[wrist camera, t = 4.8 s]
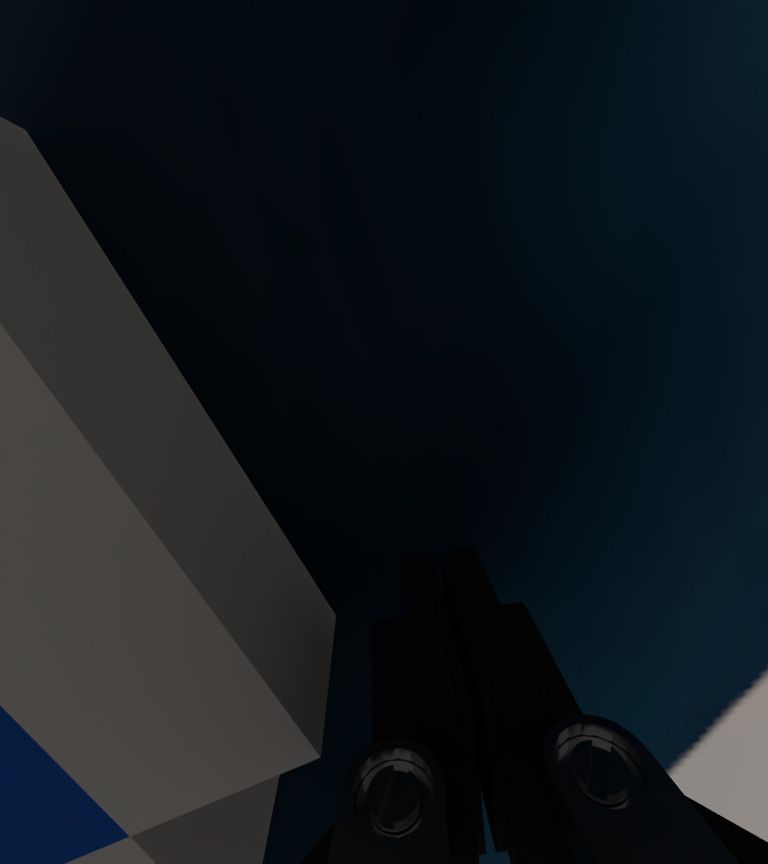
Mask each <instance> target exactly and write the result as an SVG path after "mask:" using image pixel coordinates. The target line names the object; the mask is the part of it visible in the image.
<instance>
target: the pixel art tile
mask: <svg viewBox="0 0 768 864" xmlns="http://www.w3.org/2000/svg"><path fill="white" fill-rule="evenodd" d="M335 621H336V615H335V613H334V612H333V610H332V608H331V607H330V605H329V604H328V602H327V601H326V599H325V597H324V596H323V594H322V593H321V591H320V590H319V588H318V587H317V585H316V583H315V582H314V580H313V579H312V577H311V576H310V574H309V572H308V571H307V569H306V568H305V566H304V565H303V563H302V561H301V560H300V558H299V557H298V555H297V554H296V552H295V551H294V549H293V547H292V546H291V544H290V543H289V541H288V540H287V538H286V536H285V535H284V533H283V532H282V530H281V529H280V527H279V526H278V524H277V522H276V521H275V519H274V518H273V516H272V515H271V513H270V511H269V510H268V508H267V507H266V505H265V504H264V502H263V501H262V499H261V497H260V496H259V494H258V493H257V491H256V490H255V488H254V486H253V485H252V483H251V482H250V480H249V479H248V477H247V475H246V474H245V472H244V471H243V469H242V468H241V466H240V465H239V463H238V461H237V460H236V458H235V457H234V455H233V454H232V452H231V450H230V449H229V447H228V446H227V444H226V443H225V441H224V440H223V438H222V436H221V435H220V433H219V432H218V430H217V429H216V427H215V425H214V424H213V422H212V421H211V419H210V418H209V416H208V415H207V413H206V411H205V410H204V408H203V407H202V405H201V404H200V402H199V400H198V399H197V397H196V396H195V394H194V393H193V391H192V389H191V388H190V386H189V385H188V383H187V382H186V380H185V379H184V377H183V375H182V374H181V372H180V371H179V369H178V368H177V366H176V364H175V363H174V361H173V360H172V358H171V357H170V355H169V354H168V352H167V350H166V349H165V347H164V346H163V344H162V343H161V341H160V339H159V338H158V336H157V335H156V333H155V332H154V330H153V329H152V327H151V325H150V324H149V322H148V321H147V319H146V318H145V316H144V314H143V313H142V311H141V310H140V308H139V307H138V305H137V303H136V302H135V300H134V299H133V297H132V296H131V294H130V293H129V291H128V289H127V288H126V286H125V285H124V283H123V282H122V280H121V278H120V277H119V275H118V274H117V272H116V271H115V269H114V268H113V266H112V264H111V263H110V261H109V260H108V258H107V257H106V255H105V253H104V252H103V250H102V249H101V247H100V246H99V244H98V243H97V241H96V239H95V238H94V236H93V235H92V233H91V232H90V230H89V228H88V227H87V225H86V224H85V222H84V221H83V219H82V217H81V216H80V214H79V213H78V211H77V210H76V208H75V207H74V205H73V203H72V202H71V200H70V199H69V197H68V196H67V194H66V192H65V191H64V189H63V188H62V186H61V185H60V183H59V182H58V180H57V178H56V177H55V175H54V174H53V172H52V171H51V169H50V167H49V166H48V164H47V163H46V161H45V160H44V158H43V157H42V155H41V153H40V152H39V150H38V149H37V147H36V146H35V144H34V142H33V141H32V139H31V138H30V136H29V135H28V133H27V131H26V130H25V129H23V128H21V127H19V126H17V125H15V124H13V123H11V122H9V121H7V120H5V119H3V118H1V117H0V864H262V863H263V858H264V853H265V847H266V842H267V837H268V832H269V827H270V822H271V816H272V811H273V806H274V801H275V796H276V791H277V785H278V780H279V775H280V774H282V773H284V772H287V771H289V770H292V769H294V768H296V767H299V766H301V765H304V764H306V763H308V762H311V761H313V760H316V759H318V758H320V757H321V749H322V740H323V731H324V722H325V713H326V703H327V694H328V685H329V676H330V667H331V657H332V648H333V639H334V630H335Z"/></svg>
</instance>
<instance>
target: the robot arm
mask: <svg viewBox="0 0 768 864" xmlns="http://www.w3.org/2000/svg"><path fill="white" fill-rule="evenodd" d="M400 562H401V571H402V579H403V587H404V595H405V603H406V612H407V617H406V618H398V619H390V620H383V621H375V622H372V713H373V744H372V745H370V746H368V747H367V748H366V749H365V750H364V751H363V752H361V753H360V754H359V755H358V756H357V757H356V758H355V760H354V761H353V763H352V764H351V766H350V767H349V769H348V770H347V773H346V776H345V779H344V782H343V785H342V788H341V793H340V798H339V804H338V809H337V814H336V819H335V823H334V824H333V825H332V826H331V828H330V829H329V830H328V831H327V832H326V834H325V835H324V836H323V837H322V838H321V840H320V841H319V842H318V843H317V844H316V846H315V847H314V848H313V849H312V850H311V852H310V853H309V854H308V855H307V856H306V858H305V859H304V860H303V861H302V862H301V864H479V856H478V855H482V854H486V846H485V835H484V824H483V813H482V801H481V791H482V796H483V800H484V804H485V809H486V813H487V817H488V821H489V826H490V830H491V834H492V839H493V843H494V847H495V850H496V852H505V851H508V853H509V857H510V861H511V864H768V842H766V841H764V840H763V839H761V838H759V837H757V836H756V835H754V834H752V833H750V832H748V831H747V830H745V829H743V828H741V827H739V826H738V825H736V824H734V823H733V822H731V821H729V820H727V819H725V818H724V817H722V816H720V815H718V814H716V813H715V812H713V811H711V810H710V809H708V808H706V807H704V806H702V805H701V804H699V803H697V802H695V801H694V800H692V799H690V798H688V797H687V796H685V795H684V794H683V793H682V792H681V790H680V789H679V788H678V786H677V785H676V784H675V783H674V781H673V780H672V779H671V778H670V776H669V775H668V774H667V773H666V771H665V770H664V769H663V768H662V766H661V765H660V764H659V763H658V761H657V760H656V759H655V758H654V756H653V755H652V754H651V753H650V751H649V750H648V749H647V748H646V747H645V746H644V745H643V744H642V743H641V742H640V741H639V740H638V739H637V738H636V737H635V736H634V735H633V734H632V733H631V732H629V731H628V730H626V729H625V728H623V727H622V726H620V725H619V724H617V723H615V722H613V721H610V720H608V719H605V718H603V717H600V716H595V715H588V714H582V712H581V710H580V708H579V707H578V705H577V703H576V701H575V699H574V697H573V695H572V693H571V691H570V689H569V688H568V686H567V684H566V682H565V680H564V678H563V676H562V674H561V672H560V670H559V669H558V667H557V665H556V663H555V661H554V659H553V657H552V655H551V653H550V651H549V650H548V648H547V646H546V644H545V642H544V640H543V638H542V636H541V634H540V633H539V631H538V629H537V627H536V625H535V623H534V621H533V619H532V617H531V615H530V614H529V612H528V610H527V608H526V607H525V605H524V604H523V603H513V604H505V605H500V604H499V602H498V599H497V597H496V595H495V592H494V590H493V588H492V586H491V583H490V581H489V579H488V577H487V574H486V572H485V570H484V568H483V565H482V563H481V561H480V559H479V556H478V554H477V552H476V550H475V548H474V546H469V547H462V548H454V549H449V556H444V557H441V566H442V575H443V585H444V595H445V599H444V595H443V591H442V588H441V584H440V580H439V576H438V572H437V568H436V564H435V561H434V558H429V559H425V558H424V553H416V554H408V555H401V556H400ZM480 787H481V790H480Z"/></svg>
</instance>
